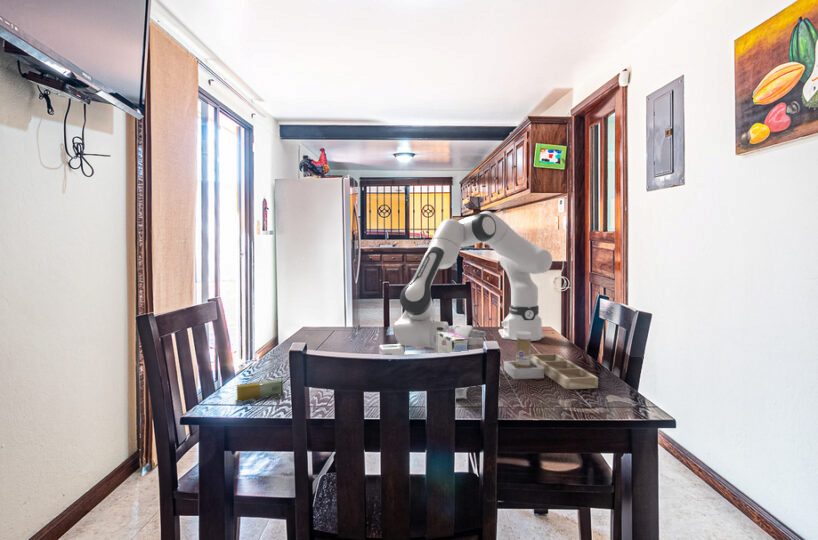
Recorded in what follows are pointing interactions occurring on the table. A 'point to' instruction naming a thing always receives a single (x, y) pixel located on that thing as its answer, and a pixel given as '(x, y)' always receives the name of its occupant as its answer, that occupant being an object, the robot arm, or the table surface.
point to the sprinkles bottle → (523, 349)
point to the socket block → (524, 370)
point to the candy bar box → (453, 344)
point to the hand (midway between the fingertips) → (484, 337)
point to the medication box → (259, 389)
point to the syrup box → (391, 349)
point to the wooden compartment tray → (565, 372)
